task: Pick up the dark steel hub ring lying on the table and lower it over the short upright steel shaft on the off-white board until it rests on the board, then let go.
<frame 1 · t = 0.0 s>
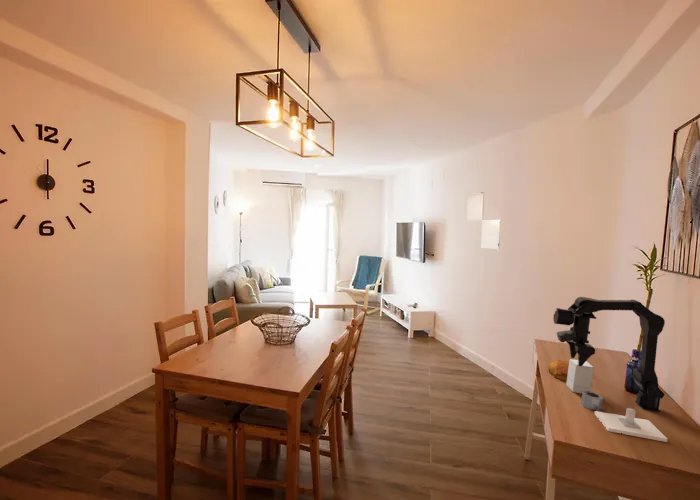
hand: (576, 361, 154), 15 cm above the table, tool pointing down, fingers open, 9 cm apart
croissant: (564, 377, 174), on the table
supplement box: (577, 390, 160), on the table
shaft stand: (628, 427, 132), on the table
hub: (591, 406, 146), on the table
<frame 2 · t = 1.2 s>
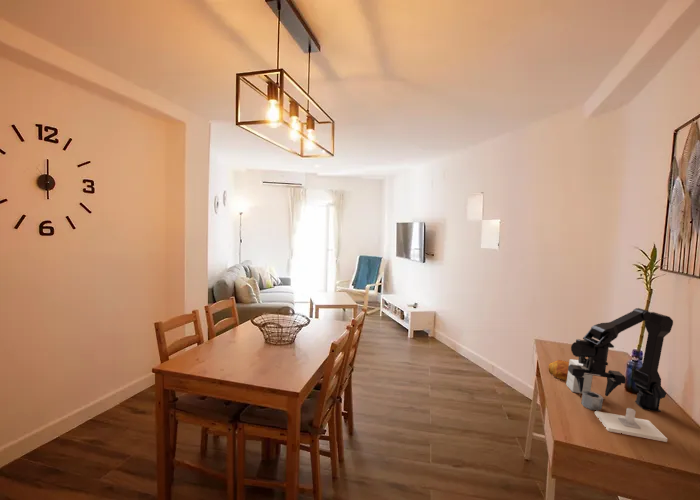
hand: (593, 393, 145), 5 cm above the table, tool pointing down, fingers open, 9 cm apart
nothing on the table moved.
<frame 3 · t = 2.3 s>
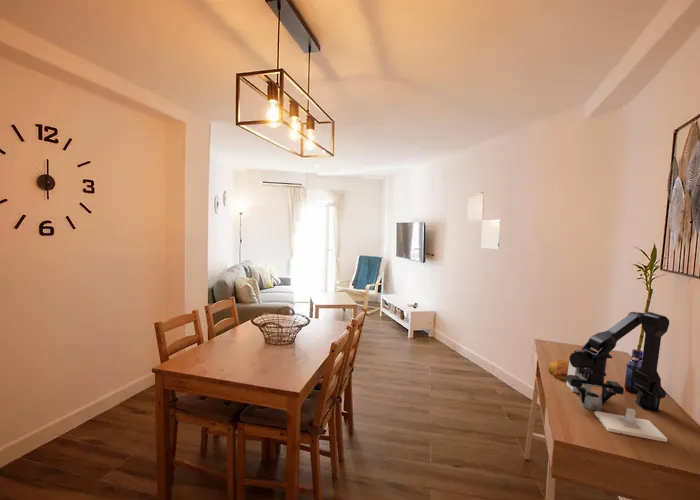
hand: (591, 404, 146), 1 cm above the table, tool pointing down, fingers closed on hub, 6 cm apart
hub: (591, 406, 146), on the table, touching gripper
everything else where it was.
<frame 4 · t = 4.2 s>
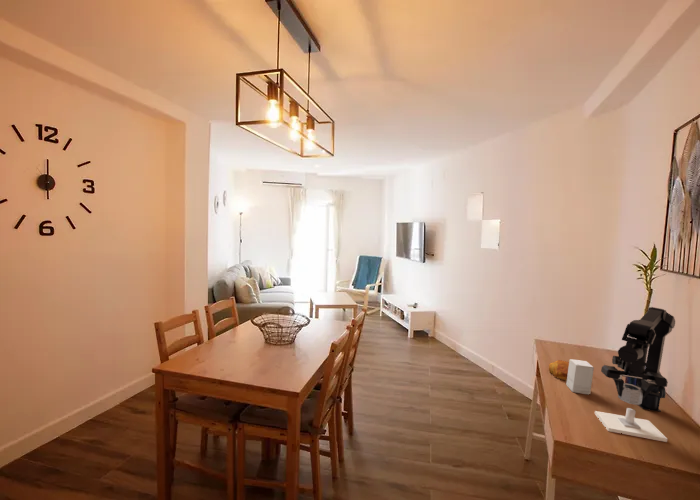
hand: (629, 397, 132), 11 cm above the table, tool pointing down, fingers closed on hub, 6 cm apart
hub: (629, 400, 132), point 10 cm above the table, touching gripper
everything else where it was.
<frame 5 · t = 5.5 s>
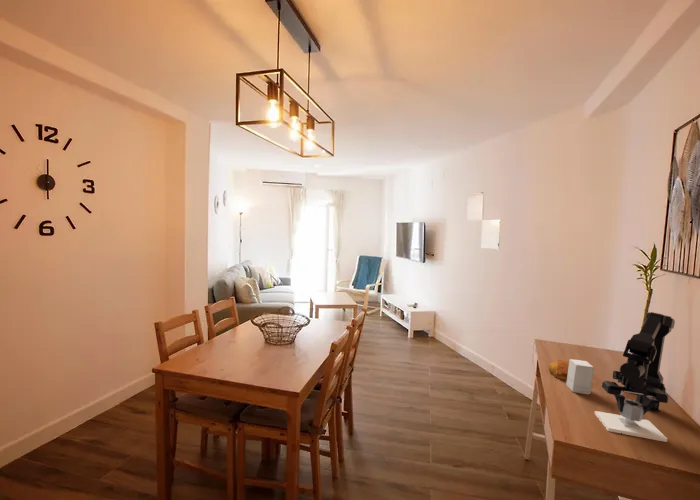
hand: (630, 413, 132), 5 cm above the table, tool pointing down, fingers closed on hub, 6 cm apart
hub: (630, 416, 132), point 4 cm above the table, touching gripper
everything else where it was.
when the fingers open (4 cm above the table, at t = 6.3 s): hub stays where it is, resting on shaft stand.
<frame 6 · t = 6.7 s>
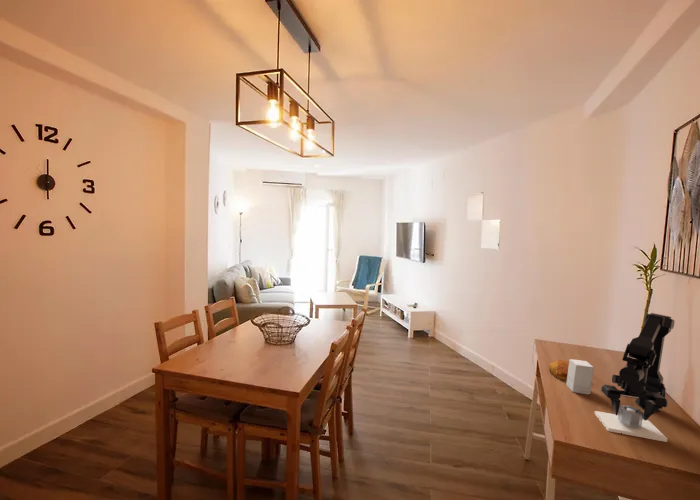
hand: (630, 417, 132), 4 cm above the table, tool pointing down, fingers open, 9 cm apart
hub: (629, 422, 132), point 2 cm above the table, touching shaft stand
everything else where it was.
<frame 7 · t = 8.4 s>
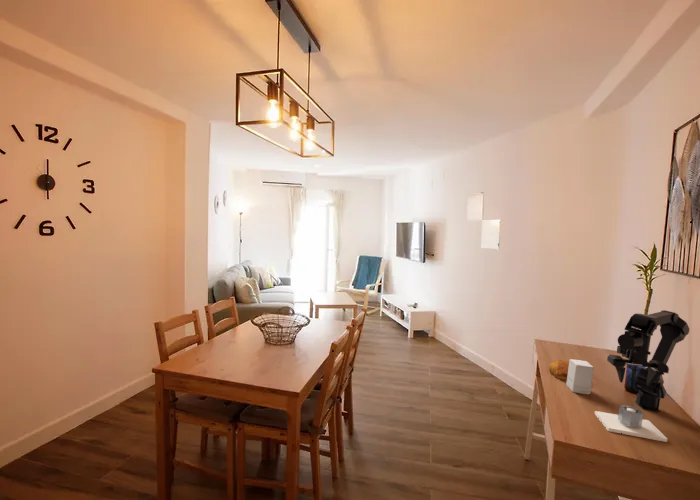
hand: (634, 384, 142), 12 cm above the table, tool pointing down, fingers open, 9 cm apart
nothing on the table moved.
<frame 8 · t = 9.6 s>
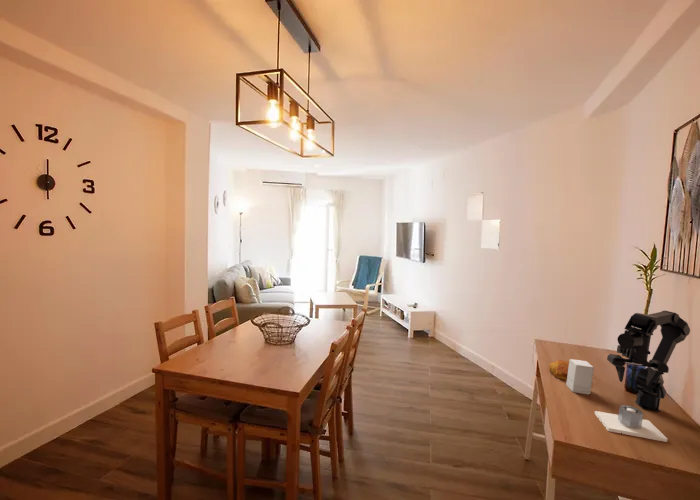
hand: (633, 383, 142), 12 cm above the table, tool pointing down, fingers open, 9 cm apart
nothing on the table moved.
at the end: hub 0.1 cm off-centre on the shaft stand, point 1.8 cm above the shaft stand's base; hub tilted 0°; the gripper is holding nothing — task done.
